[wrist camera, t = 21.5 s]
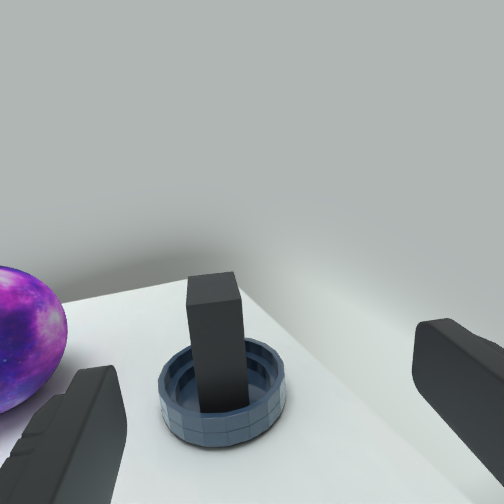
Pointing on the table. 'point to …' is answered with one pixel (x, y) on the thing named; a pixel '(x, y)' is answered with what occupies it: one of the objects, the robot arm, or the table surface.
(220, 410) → the dark grey upright block
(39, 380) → the decorative orb
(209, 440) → the bowl
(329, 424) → the table surface
